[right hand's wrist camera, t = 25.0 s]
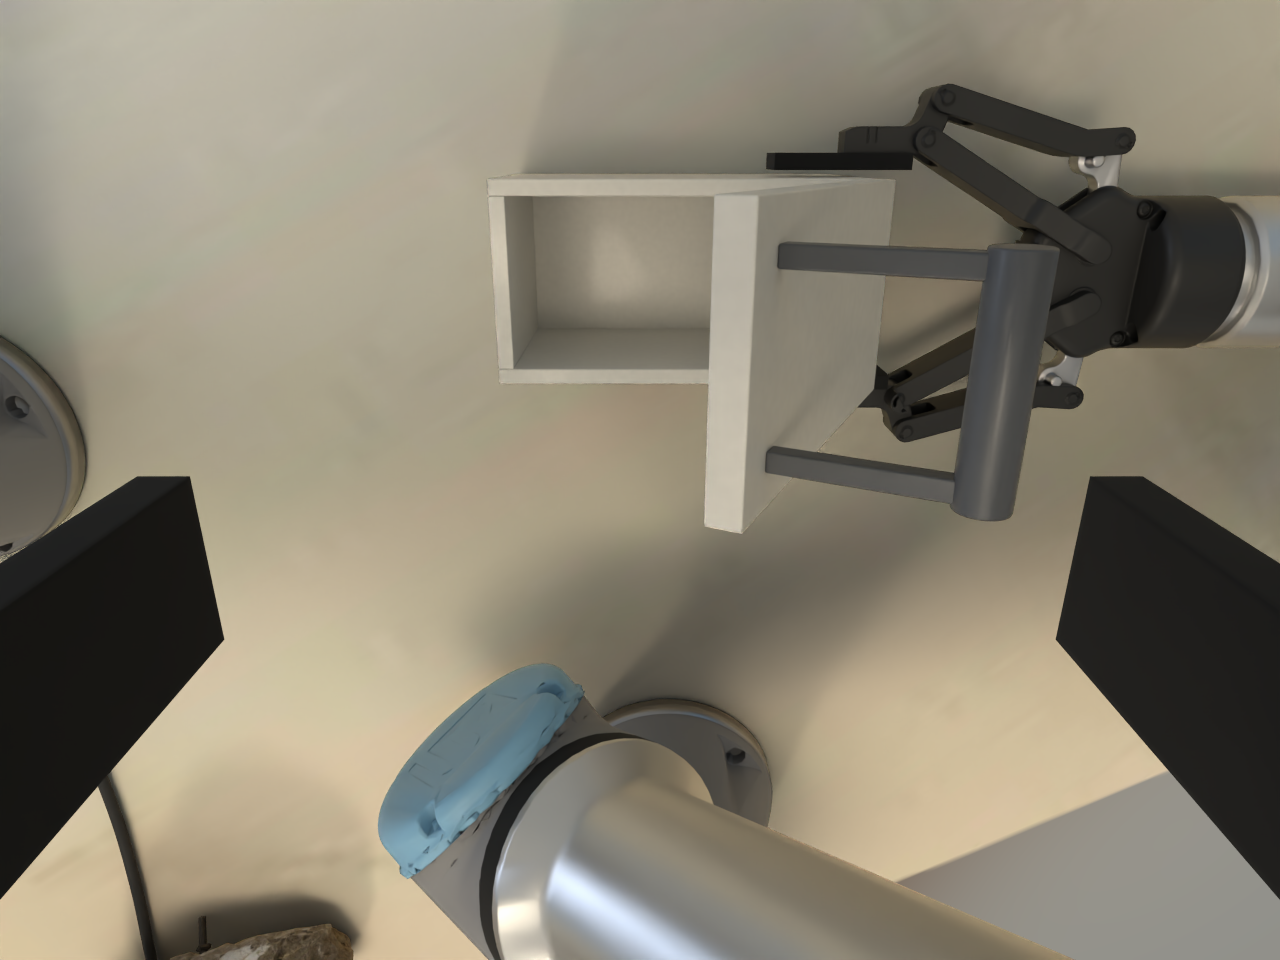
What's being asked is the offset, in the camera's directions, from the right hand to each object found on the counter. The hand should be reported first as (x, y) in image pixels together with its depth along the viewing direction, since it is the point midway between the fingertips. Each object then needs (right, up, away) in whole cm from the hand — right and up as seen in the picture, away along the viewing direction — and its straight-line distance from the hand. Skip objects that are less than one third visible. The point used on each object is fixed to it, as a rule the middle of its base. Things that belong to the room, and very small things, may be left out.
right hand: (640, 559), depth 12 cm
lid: (+6, +7, +18) cm, 20 cm away
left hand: (+6, +12, +30) cm, 33 cm away
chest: (+2, +14, +36) cm, 39 cm away
